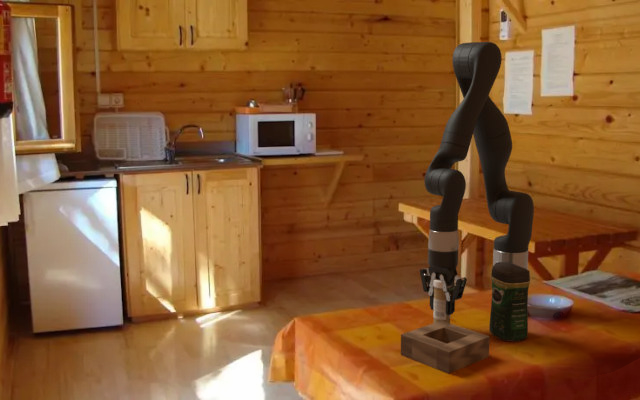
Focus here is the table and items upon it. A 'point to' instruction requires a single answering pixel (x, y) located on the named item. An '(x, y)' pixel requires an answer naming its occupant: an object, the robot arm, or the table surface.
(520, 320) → the coffee jar
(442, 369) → the well block
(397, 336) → the table surface
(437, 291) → the sprinkles bottle
